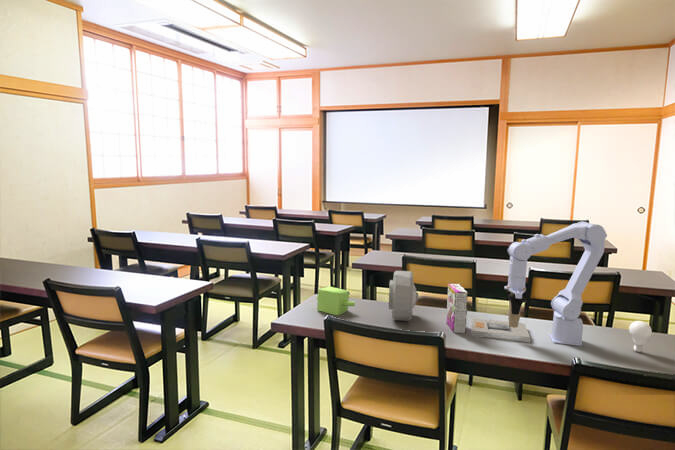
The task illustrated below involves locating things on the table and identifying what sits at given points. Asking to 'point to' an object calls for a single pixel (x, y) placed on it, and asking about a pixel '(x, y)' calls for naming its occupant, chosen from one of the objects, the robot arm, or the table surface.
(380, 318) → the table surface
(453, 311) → the candy bar box
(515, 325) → the handle
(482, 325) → the rack plate
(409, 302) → the dial
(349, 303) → the gearbox
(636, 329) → the lightbulb
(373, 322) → the table surface
